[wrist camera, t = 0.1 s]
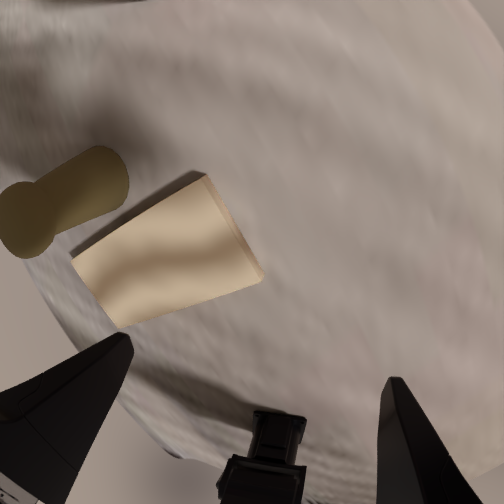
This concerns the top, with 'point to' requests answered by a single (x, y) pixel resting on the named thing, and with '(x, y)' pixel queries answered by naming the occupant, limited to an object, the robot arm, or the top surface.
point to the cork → (61, 200)
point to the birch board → (169, 257)
